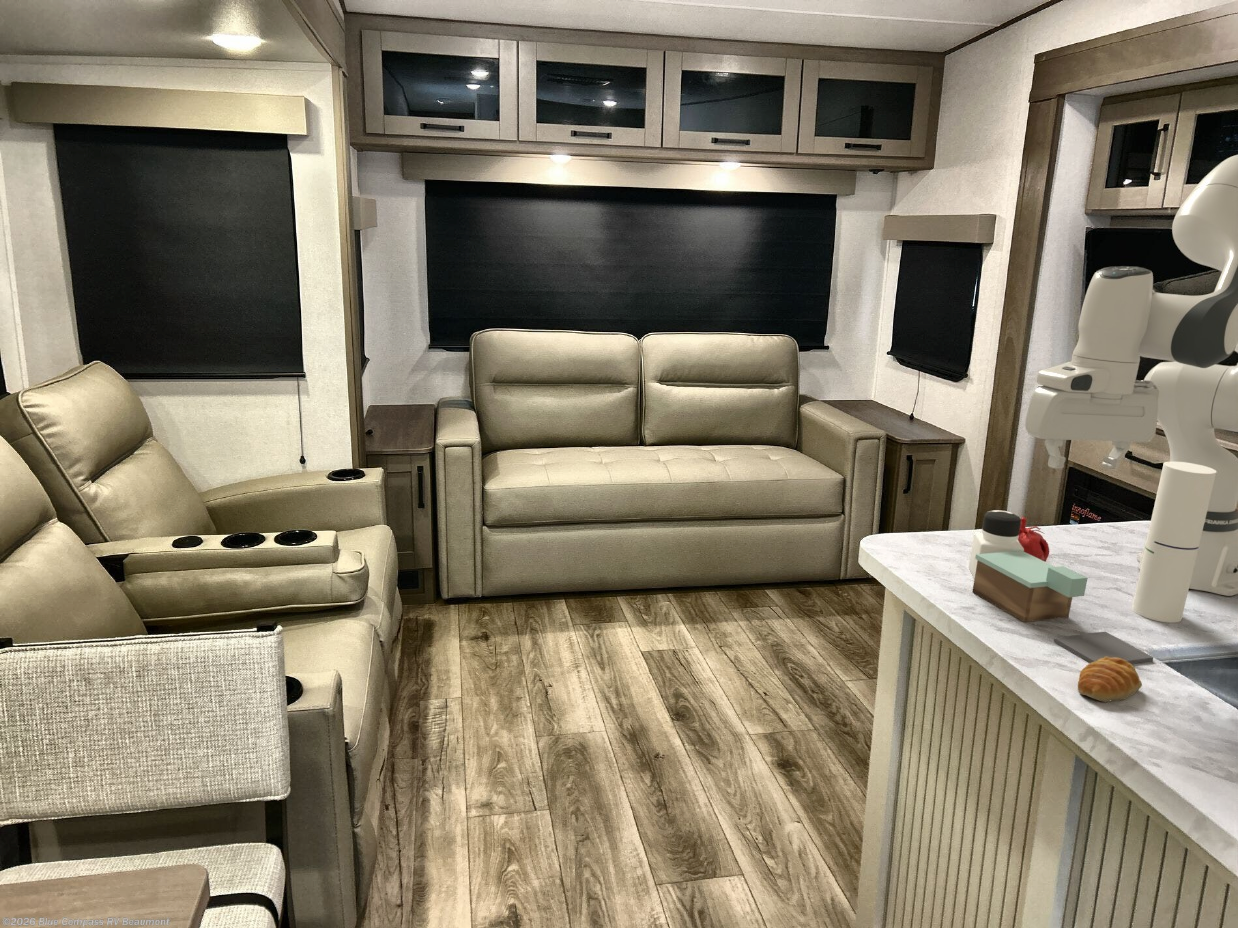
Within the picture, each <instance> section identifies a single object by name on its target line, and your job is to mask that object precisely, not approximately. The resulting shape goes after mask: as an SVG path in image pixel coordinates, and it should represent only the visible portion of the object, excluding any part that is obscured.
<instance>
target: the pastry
mask: <svg viewBox="0 0 1238 928" xmlns="http://www.w3.org/2000/svg"><path fill="white" fill-rule="evenodd" d="M1142 683H1143V682H1142V681H1141V679H1140V676H1139V674H1138V672H1137V670H1136V667H1135V666H1134V665H1133V664H1130V663H1129V662H1128V661H1126V660H1123V659H1121V658H1117V657H1114V658H1110V657H1107V656H1106V657H1104V658H1100V659H1098V661H1094V662H1092V663H1089V664H1086V665H1085V667H1083V668H1082V670H1080V673H1079V678H1078V682H1077V690H1078V692H1079V695H1082V696H1087V697H1089V698H1091V699H1093V700H1097V701H1100V702H1102V703H1108V701H1109V702H1111V701H1110V700H1113V701H1112V702H1116V701H1125V699H1127V698H1129V697H1131V696H1133V695H1134V694H1136V693H1137V692H1138V690H1140V688H1142V687H1143V684H1142ZM1115 700H1116V701H1115Z"/></svg>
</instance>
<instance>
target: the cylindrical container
mask: <svg viewBox="0 0 1238 928" xmlns="http://www.w3.org/2000/svg"><path fill="white" fill-rule="evenodd" d="M1215 475H1216V470H1214V469H1212V468H1209V467H1206V466H1202V465H1198V464H1193V463H1186V462H1175V461H1170V460H1169V461H1165V462H1163V466H1162V469H1161V473H1160V478H1159V484H1158V487H1157V492H1156V496H1155V497H1156V498H1155V501H1154V504H1153V505H1154V507H1153V509H1152V514H1151V519H1150V524H1149V528H1148V533H1147V538H1146V540H1147V541H1145V543H1146V547H1145V550H1144V555H1143V560H1142V564H1141V569H1139V573H1138V579H1137V583H1136V589H1135V591H1134V597H1133V602H1132V606H1131V609H1132V611H1133V612H1135V613H1136V614H1137V615H1139V616H1142V617H1144V618H1146V619H1148V620H1152V621H1157V622H1162V623H1168V624H1169V623H1171V624H1172V623H1179V622H1181V621H1182V619H1183V614H1184V611H1185V606H1186V603H1187V602H1186V601H1187V598H1188V595H1189V594H1188V593H1189V589H1190V588H1189V586H1190V582H1191V577H1192V573H1193V569H1194V564H1195V560H1196V556H1197V552H1198V546H1199V543H1200V539H1201V535H1202V531H1203V526H1204V522H1205V518H1206V514H1207V510H1208V505H1209V501H1210V497H1211V493H1212V488H1213V484H1214V480H1215Z"/></svg>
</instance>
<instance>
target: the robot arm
mask: <svg viewBox="0 0 1238 928" xmlns="http://www.w3.org/2000/svg"><path fill="white" fill-rule="evenodd" d="M1171 230H1172V231H1171V232H1172V238H1173V240H1174V243H1175V245H1176V246H1177V248H1178V250H1180V252H1181V253H1182V254H1183V255H1184V256H1185V257H1186V258H1188V259H1189V260H1190V261H1192V262H1194V263H1197V264H1199V265H1202V266H1206V267H1210V268H1212V269H1216V270H1218V271H1219V272H1221V273H1220V276H1219V278H1218V281H1217V283H1216V286H1215V288H1214V291H1213V292H1211V293H1208V294H1203V295H1202V294H1201V295H1187V294H1185V295H1183V294H1175V293H1174V294H1173V293H1162V292H1156V291H1155V290H1154V276H1153V275H1154V274H1153V272H1152V270H1150V269H1147V268H1145V267H1140V266H1128V265H1121V266H1108V267H1103V268H1101V269H1098V270H1096V272H1094V274H1093V276H1092V278H1091V280H1090V282H1089V285H1088V287H1087V290H1086V293H1085V296H1084V299H1083V304H1082V308H1081V311H1080V315H1079V321H1078V327H1077V328H1078V341H1077V344H1076V346H1075V347H1074V349H1073V352H1072V355H1071V361H1067V362H1063V363H1061V364H1058V365H1055V366H1052V367H1049V368H1048V367H1047V368H1045V369H1042V370H1039V371H1038V373H1037V374H1036V375H1037V376H1036V383H1037V384H1038V385H1040V386H1039V387H1037V388H1036V389H1035V390H1034V391H1033V393H1032V395H1031V396H1030V401H1029V404H1028V407H1027V413H1026V417H1025V424H1024V428H1025V431H1026V432H1027V434H1028V435H1029V436H1031V437H1035V438H1037V439H1042V440H1044V445H1045V448H1046V450H1047V453H1048V455H1049V456H1048V462H1047V467H1049V468H1051V469H1064V467H1065V462H1066V460H1067V459H1066V457H1065V456H1062V455H1061V452H1060V451H1061V450H1060V448H1059V447H1063V444H1064V440H1065V441H1069V440H1070V441H1071V440H1072V441H1093V442H1095V441H1096V442H1097V441H1098V442H1101V441H1102V442H1111V446H1113V448H1112V449H1111V451H1110V452H1109V454H1108V455H1104V456H1102V462H1101V467H1102V469H1105V470H1108V471H1116V470H1118V469H1119V466H1120V465H1119V464H1120V462H1121V460H1122V458H1123V457H1124V456H1125V455H1126V454H1127V452H1128V451H1129V450H1130V448H1131V447H1130V446H1131V443H1149V442H1150V441H1151V440H1152V439H1153V438H1154V437H1155V436H1156V431H1157V425H1158V424H1159V426H1160V427H1161V429H1162V430H1163V433H1164V435H1165V437H1166V440H1167V443H1168V447H1169V456H1170V457H1169V462H1170V461H1175V462H1186V463H1193V464H1198V465H1202V466H1206V467H1209V468H1212V469H1214V470H1216V475H1215V480H1214V484H1213V488H1212V493H1211V497H1210V501H1209V505H1208V510H1207V514H1206V518H1205V522H1204V526H1203V531H1202V535H1201V539H1200V543H1199V546H1198V552H1197V556H1196V560H1195V564H1194V569H1193V573H1192V577H1191V582H1190V586H1189V589H1191V590H1197V591H1202V592H1203V591H1204V592H1209V593H1213V594H1217V595H1222V596H1228V597H1230V596H1234V595H1235V596H1236V595H1238V508H1237V504H1238V457H1237V456H1236V455H1235V454H1234V453H1232V452H1231V451H1229V450H1228V449H1227V448H1225V447H1223V446H1222V445H1221V444H1220V443H1219V441H1218V440H1217V437H1216V435H1215V434H1216V433H1215V430H1216V429H1217V430H1222V431H1223V430H1224V431H1230V432H1235V433H1238V362H1237V363H1236V365H1222V364H1219V363H1220V362H1222V361H1224V360H1226V359H1227V358H1229V357H1230V356H1231V355H1232V354H1233V353H1234V352H1236V353H1238V154H1236V155H1233V156H1230V157H1227V158H1226V159H1224V160H1223V161H1221V162H1220V163H1219V164H1217V165H1216V166H1215V167H1213V169H1212V170H1211V171H1210V172H1208V173H1207V175H1205V176H1204V177H1203V178H1202V179H1201V180H1200V182H1199V183H1198V184H1196V186H1195V187H1194V189H1192V191H1191V192H1190V193H1189V194H1188V196H1187V198H1186V199H1185V200H1184V201H1183V202H1182V204H1181V205H1180V207H1179V208H1178V210H1177V212H1176V213H1175V216H1174V219H1173V221H1172V227H1171ZM1141 358H1147V359H1148V358H1150V359H1155V360H1163V362H1162V361H1161V362H1159V363H1158V364H1156V365H1155V366H1154V367H1152V368H1151V369H1150V370H1149V371H1148V373H1147V374H1146V375H1145V377H1144V379H1143V380H1140V379H1139V380H1138V379H1137V375H1138V372H1139V371H1138V370H1139V366H1140V361H1141ZM1146 541H1147V539H1146ZM1146 541H1145V544H1144V547H1143V550H1142V552H1138V554H1137V556H1136V559H1137V561H1138V562H1139V563H1138V565H1137V566H1138V569H1139V570H1140V569H1141V564H1142V560H1143V555H1144V550H1145V547H1146Z"/></svg>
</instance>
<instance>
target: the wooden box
mask: <svg viewBox="0 0 1238 928" xmlns="http://www.w3.org/2000/svg"><path fill="white" fill-rule="evenodd" d="M973 579H974V578H973ZM971 593H973V594H974V595H976V596H978V597H980V598H982V599H983V600H985V601H986V602H988V603H991V605H994V606H995V607H997V608H998V609H1000V610H1002V611H1004V612H1005V613H1007V614H1009V615H1010V616H1012V617H1014V618H1015V619H1018V620H1019V621H1020V622H1022V623H1030V622H1036V621H1045V620H1046V621H1047V620H1055V619H1056V620H1057V619H1063V618H1069V615H1070V611H1071V607H1072V602H1073V597H1067V596H1065V595H1063V594H1061V593H1059V592H1057V591H1055V590H1053V589H1051V588H1049V587H1047V586H1045V587H1035V588H1029V587H1027V586H1026V585H1024V584H1022V583H1020V582H1018V581H1016V580H1014V579H1012V578H1010V577H1009V576H1007V575H1005V574H1003V573H1001V572H999V571H997V570H995V569H994V568H992V567H990V566H988V565H986V564H984V563H982V562H980V561H977V567H976V573H975V579H974V581H973V586H972V592H971Z"/></svg>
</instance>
